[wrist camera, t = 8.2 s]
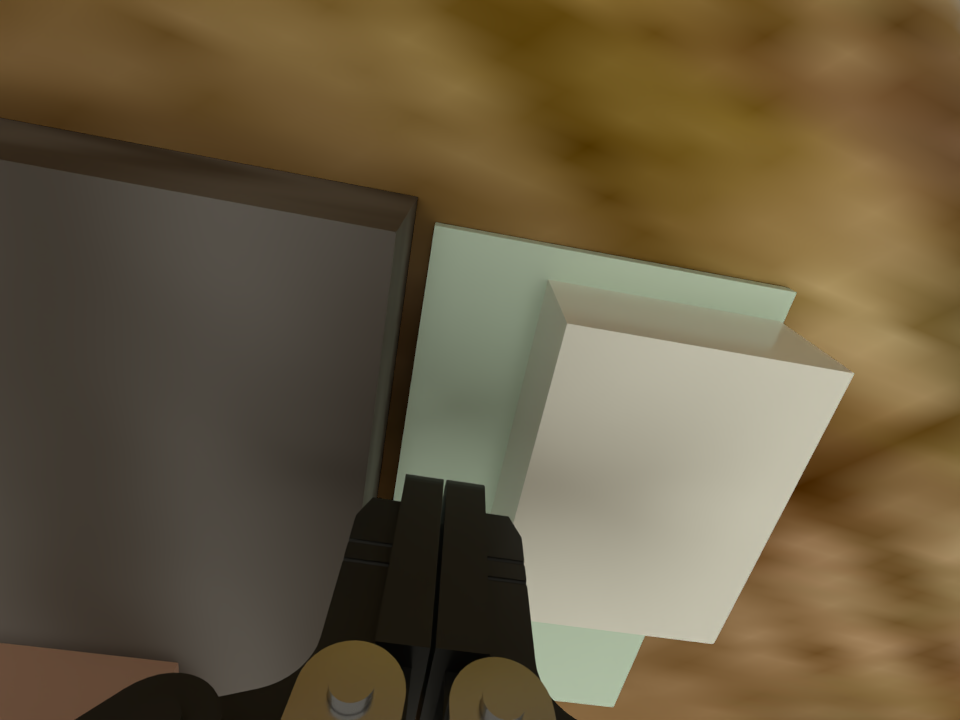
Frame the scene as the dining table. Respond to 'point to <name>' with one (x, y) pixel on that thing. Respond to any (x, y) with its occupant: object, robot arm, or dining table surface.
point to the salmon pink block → (65, 680)
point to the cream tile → (656, 457)
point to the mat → (498, 381)
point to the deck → (186, 398)
